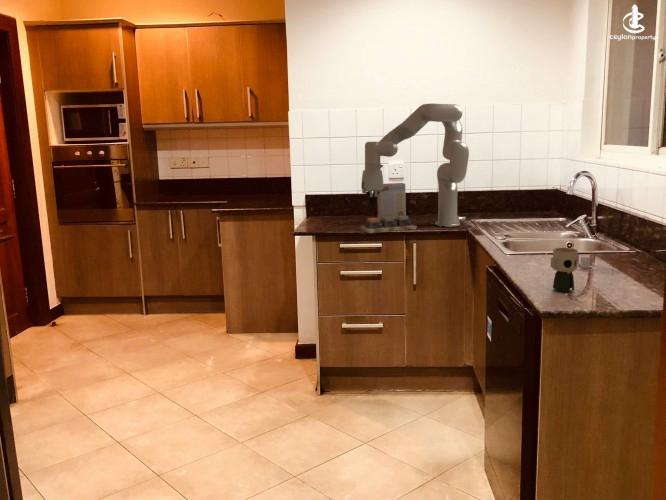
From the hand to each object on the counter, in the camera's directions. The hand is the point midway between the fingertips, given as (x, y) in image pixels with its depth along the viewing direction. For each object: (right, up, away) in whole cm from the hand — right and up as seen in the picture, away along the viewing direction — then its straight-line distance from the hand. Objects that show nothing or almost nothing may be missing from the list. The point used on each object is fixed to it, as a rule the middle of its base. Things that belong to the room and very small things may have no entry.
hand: (372, 204), depth 307 cm
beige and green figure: (+52, -35, -113) cm, 129 cm away
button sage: (+16, -8, +7) cm, 19 cm away
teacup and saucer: (+73, -29, -83) cm, 115 cm away
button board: (+8, -12, +5) cm, 15 cm away
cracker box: (+12, -8, +24) cm, 28 cm away
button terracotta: (+1, -10, +2) cm, 10 cm away
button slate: (+8, -9, +5) cm, 13 cm away
